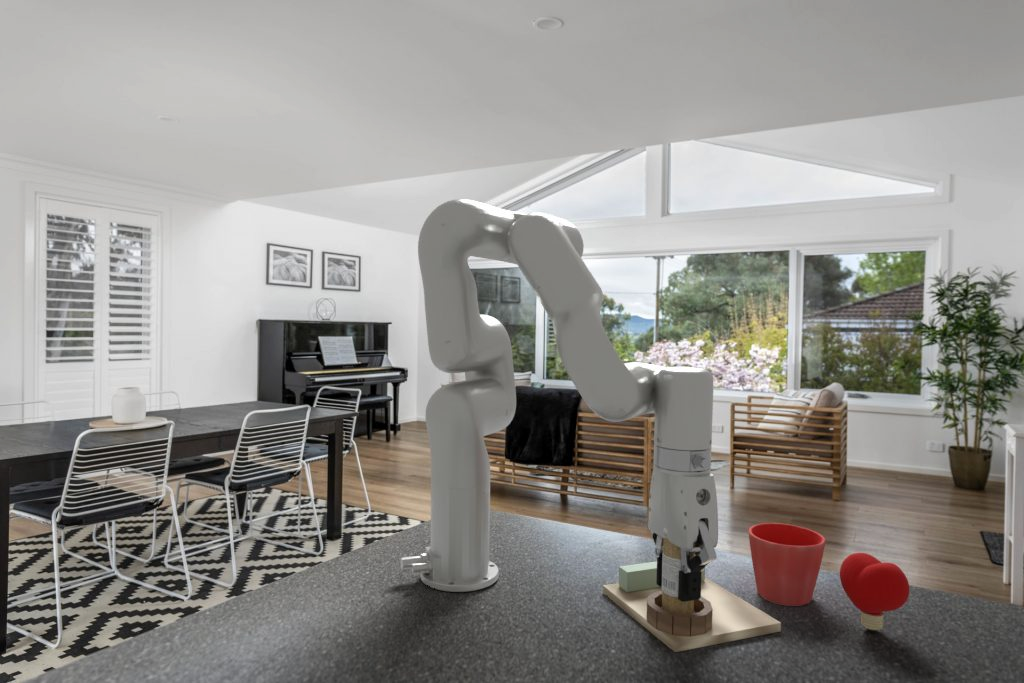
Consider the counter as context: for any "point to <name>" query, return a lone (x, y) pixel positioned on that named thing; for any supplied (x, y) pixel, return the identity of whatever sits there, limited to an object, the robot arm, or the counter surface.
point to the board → (695, 616)
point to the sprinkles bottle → (673, 579)
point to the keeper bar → (640, 576)
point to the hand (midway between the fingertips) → (678, 590)
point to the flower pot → (785, 562)
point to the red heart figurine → (873, 587)
